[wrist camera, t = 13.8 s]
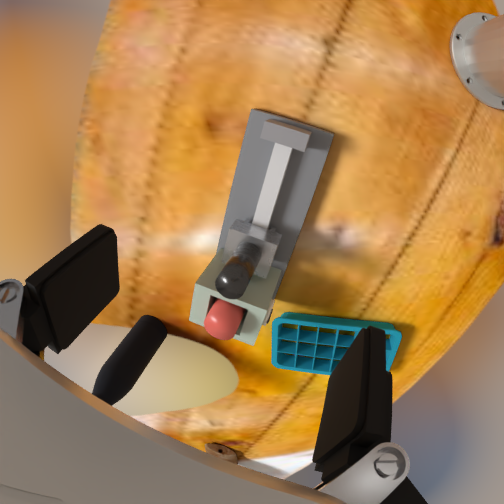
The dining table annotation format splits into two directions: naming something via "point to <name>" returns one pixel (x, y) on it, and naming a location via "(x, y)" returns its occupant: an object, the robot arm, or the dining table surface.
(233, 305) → the button
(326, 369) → the ice cube tray
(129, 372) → the wine bottle
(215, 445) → the brown boot
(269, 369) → the dining table surface
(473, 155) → the dining table surface
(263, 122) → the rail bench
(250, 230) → the carriage
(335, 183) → the dining table surface
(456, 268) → the dining table surface
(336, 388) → the robot arm
